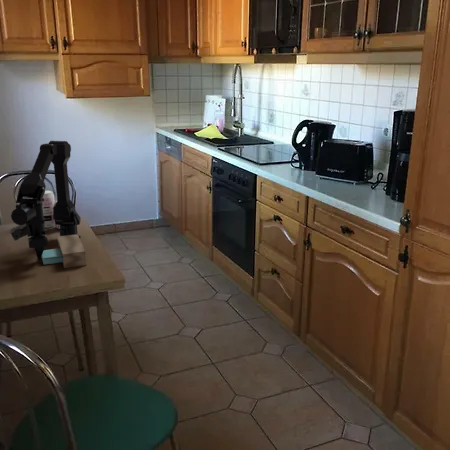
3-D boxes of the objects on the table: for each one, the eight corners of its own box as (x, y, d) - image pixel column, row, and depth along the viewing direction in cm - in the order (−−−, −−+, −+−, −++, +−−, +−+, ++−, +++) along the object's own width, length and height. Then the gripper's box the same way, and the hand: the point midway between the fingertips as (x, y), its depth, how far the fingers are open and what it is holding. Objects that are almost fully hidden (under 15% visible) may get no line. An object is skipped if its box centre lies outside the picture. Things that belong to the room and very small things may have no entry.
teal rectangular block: (43, 264, 183) (42, 258, 182) (41, 257, 190) (41, 250, 189) (78, 260, 187) (77, 253, 186) (75, 252, 194) (74, 246, 193)
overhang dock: (64, 268, 180) (62, 254, 178) (58, 249, 197) (57, 236, 196) (86, 265, 183) (85, 251, 181) (78, 247, 200) (77, 234, 199)
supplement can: (49, 221, 231) (45, 188, 227) (60, 224, 227) (57, 191, 222) (33, 225, 225) (29, 192, 221) (45, 229, 221) (41, 195, 216)
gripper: (9, 212, 186) (14, 252, 191) (10, 226, 170) (15, 270, 174) (42, 209, 190) (46, 249, 195) (46, 223, 174) (50, 266, 178)
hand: (39, 258), depth 185 cm, fingers closed, pressing on teal rectangular block
